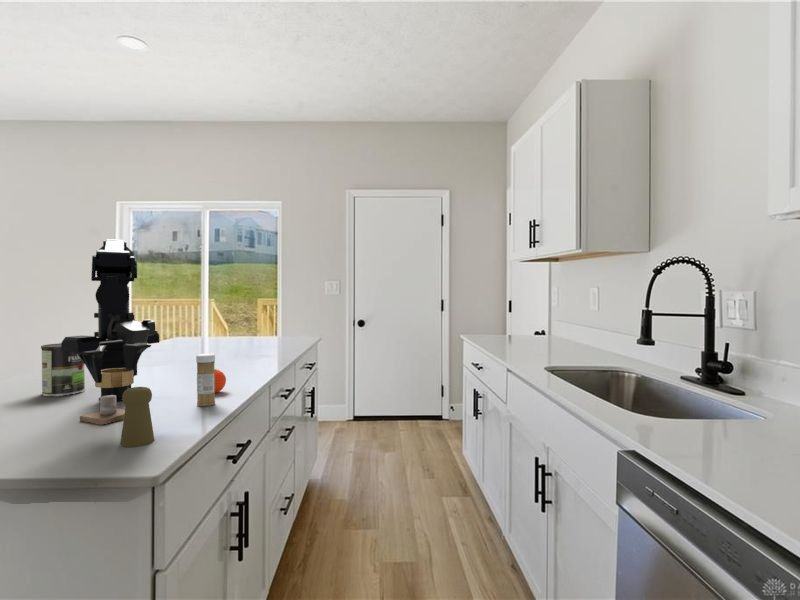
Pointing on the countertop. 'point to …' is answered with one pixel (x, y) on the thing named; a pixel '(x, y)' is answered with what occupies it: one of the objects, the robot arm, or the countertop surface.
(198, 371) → the sprinkles bottle
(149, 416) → the cork
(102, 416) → the peg stand
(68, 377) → the coffee can
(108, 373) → the ring
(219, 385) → the clementine
